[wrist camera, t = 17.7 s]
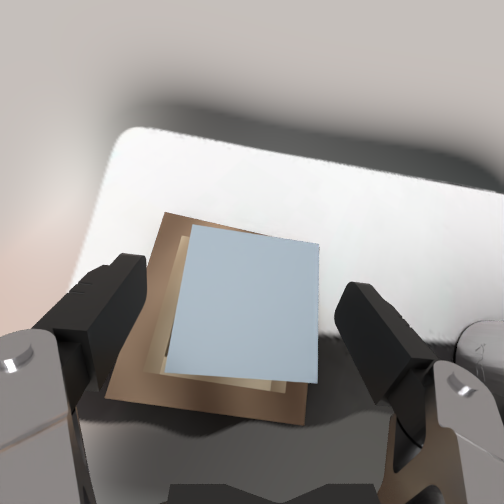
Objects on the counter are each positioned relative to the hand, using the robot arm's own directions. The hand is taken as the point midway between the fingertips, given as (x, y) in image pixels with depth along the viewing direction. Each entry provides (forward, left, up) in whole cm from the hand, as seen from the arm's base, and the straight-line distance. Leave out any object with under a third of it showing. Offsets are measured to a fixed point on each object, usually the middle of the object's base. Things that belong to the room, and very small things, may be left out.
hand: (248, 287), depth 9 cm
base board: (0, +1, -10) cm, 10 cm away
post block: (0, +1, -8) cm, 8 cm away
